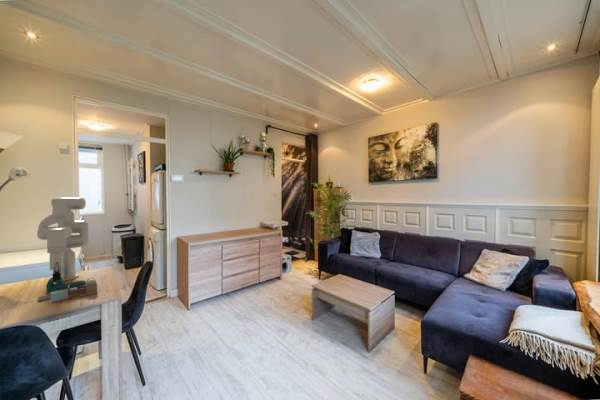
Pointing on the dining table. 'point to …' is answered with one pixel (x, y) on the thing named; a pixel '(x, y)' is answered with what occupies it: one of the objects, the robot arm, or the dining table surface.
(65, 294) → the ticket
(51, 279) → the dark green elongated piece
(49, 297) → the mat
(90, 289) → the dispenser
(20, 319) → the dining table surface
